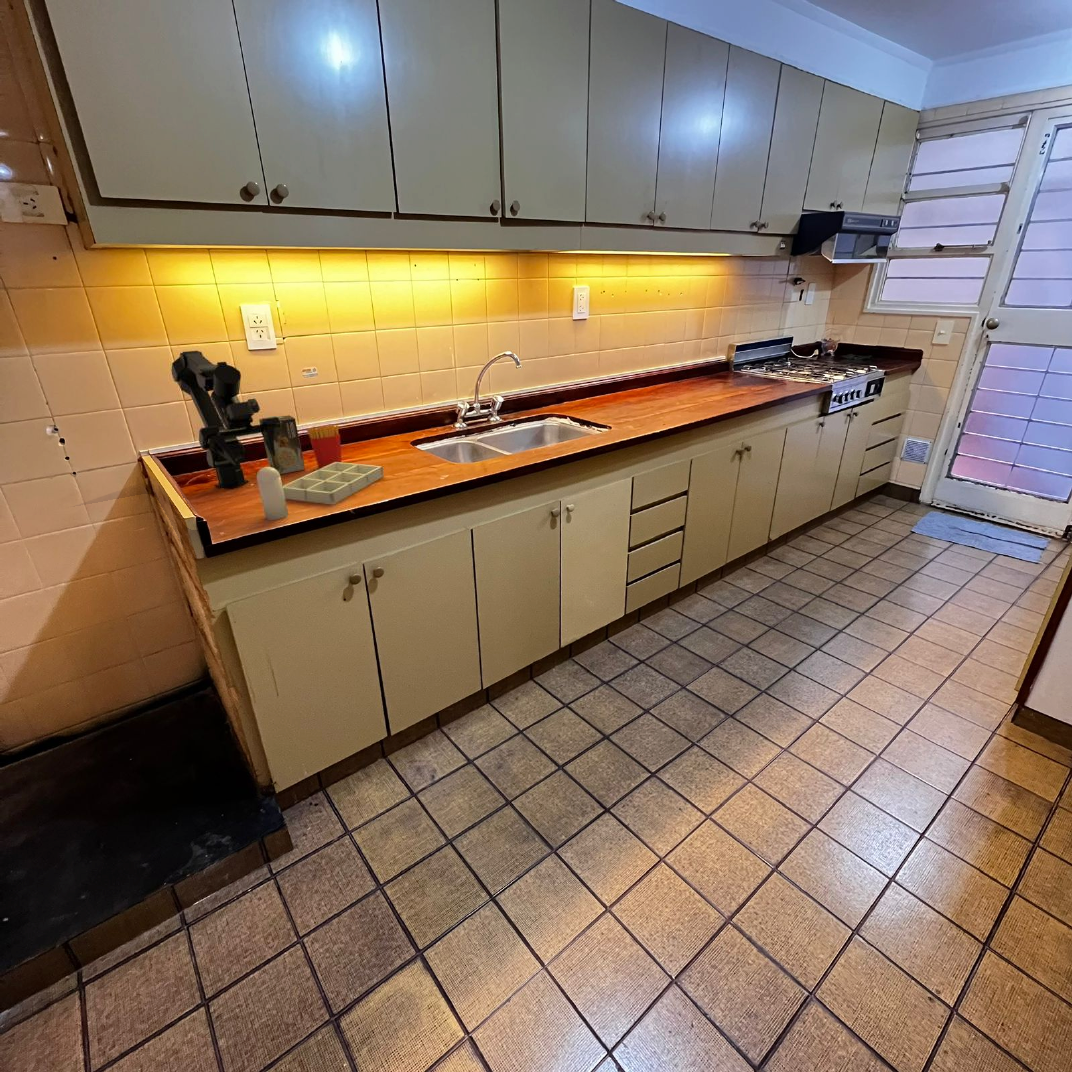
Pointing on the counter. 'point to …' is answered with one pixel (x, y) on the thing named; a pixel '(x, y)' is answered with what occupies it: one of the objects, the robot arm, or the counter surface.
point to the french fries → (325, 444)
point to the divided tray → (332, 482)
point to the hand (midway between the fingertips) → (255, 460)
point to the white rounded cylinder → (272, 493)
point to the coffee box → (286, 448)
